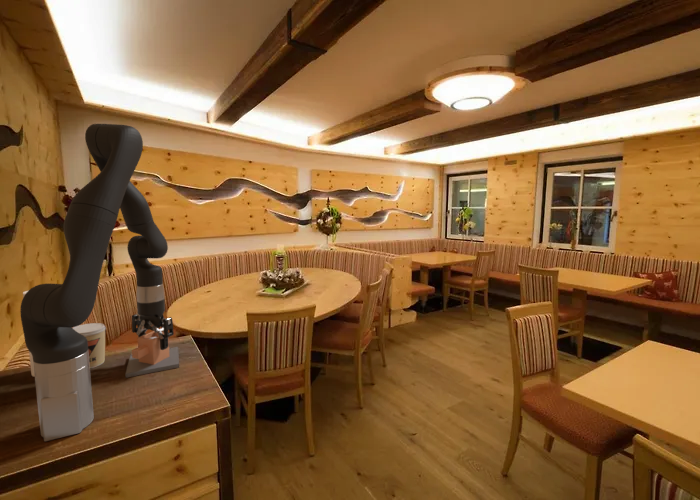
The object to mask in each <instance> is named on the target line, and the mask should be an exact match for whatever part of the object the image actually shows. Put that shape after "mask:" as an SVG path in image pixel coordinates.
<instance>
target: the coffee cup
mask: <svg viewBox="0 0 700 500" xmlns="http://www.w3.org/2000/svg"><path fill="white" fill-rule="evenodd" d="M72 328H73V329H74V330H75V331H76V332H78V333H80V334H81V335H83V336H85V337H86V338H87V341H88V351H89V364H90V369H94V368H96V367H99V366H101V365H102V364H104V362H105V361H106V360H105V358H106V326H105V324H104V323H99V322H94V323H93V322H92V323H91V322H90V323H83V324H80V325H79V326H76V327H72Z"/></svg>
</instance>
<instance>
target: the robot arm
mask: <svg viewBox="0 0 700 500" xmlns="http://www.w3.org/2000/svg"><path fill="white" fill-rule="evenodd" d="M84 139H85V144H86V148H87V149H88V151H89V153H90V155H91V157H92V159H93V161H94V163H95V165H96V167H97V168H98V169H99V171H100V172H99V173H98V174H97V175H96V176H95V177H94V178H93V179H92V180H90V181H89V182H88V183H87V184H85V185H84V186H83V187H82V188H81V189H80V190H79V191H78V192H77V193H76V194H75V195H74V197H73V198H72V200H71V202H70V204H69V206H68V210H67V213H66V215H65V218H64V221H63V224H62V225H63V234H64V238H65V242H66V245H67V248H68V251H69V252H68V253H69V264H68V268H67V271H66V274H65V277H64V279H63V282H62V283H41V284H37V285H34V286H33V287H31V288H30V289H29V291H28V290H27V291H28V292H27V293H26V294H25V296H24V297H23V296H22V300H21V304H20V311H19V313H20V320H21V326H22V327H21V328H22V331H23V336H24V337H23V339H24V342H25V346H26V349H27V351H28V352H29V351H30V352H31V354H32V356H33V364H34V374H35V377H34V384H35V392H36V401H37V411H38V419H39V420H38V421H39V428H40V429H39V430H40V435H41V437H42V438H43V442H49V441H53V440H56V439H60V438H64V437H69V436H73V435H77V434H80V433H81V432H82V431H83V430H84V429H85V428H86V427H88V426H89V425H90V424H91V423H92V422H93V420H94V417H95V415H94V404H93V402H94V401H93V390H92V378H91V368H90V364H89V351H88V341H87V338H86V337H85V336H83V335H81V334H80V333H78V332H76V331H75V330H74V329H73V327H76V326H79V325H83V324H84V323H85V322H86V320H88V318H89V317H90V316H91V314H92V312H93V309H94V306H95V303H96V299H97V296H98V295H97V294H98V289H99V285H100V279H101V274H102V273H101V272H102V268H103V264H104V261H105V257H106V254H107V249H108V247H109V243H110V239H111V237H112V236H113V232H114V229H115V226H116V223H117V220H118V217H119V212H121V215H122V217H123V220H124V223H125V226H126V228H127V230H128V231H129V232H131V233H134V234H138V235H134V236H132V237H131V238H130V239H129V240H128V243H127V253H128V256H129V259H130V260H131V263H132V266H133V269H134V271H135V277H136V278H135V279H136V293H135V296H136V309H137V310H136V312H137V313H135V314H133V315H131V332H132V333H136V335H137V338H138V337H141V336H143V335H145V334H147V331H151V332H153V331H154V332H155V333H156V334H158V335H159V337H160V349H161V350H164V349H166V348H167V347H168V337H169V338H170V337H172V336H174V334H175V333H174V323H173V318H172V317H171V316H170V317H164V313H165V312H166V304H165V300H166V299H165V288H164V284H163V283H164V282H163V281H164V280H163V279H164V278H163V269H162V267H161V266H160V265H157V264H153V263H151V262H150V261H149V259H162V258H164V257H165V256H166V254H167V253H168V250H169V247H168V246H169V245H168V242H167V239H166V237H165V236H164V235H163V233H162V232H161V230H160V228H159V227H158V226H157V224H156V223H155V221H154V218H153V215H152V211H151V208H150V206H149V203H148V200H147V199H146V198H145V196H144V195H143V193H142V192H141V191H140V190H139V189H138V188H137V187H136V186H135V185H134V183H132V181H131V179H132V176H133V174H134V173H135V170H136V168H137V167H138V164H139V161H140V159H141V157H142V153H143V148H144V142H143V138H142V134H141V132H140V131H139V130H138V129H137V128H136V127H134V126H131V125H127V124H112V123H92V124H90V125H89V126H88V127H87V129H86V130H85V133H84ZM162 332H163V333H164V334H162Z"/></svg>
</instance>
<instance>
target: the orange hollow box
mask: <svg viewBox="0 0 700 500" xmlns="http://www.w3.org/2000/svg"><path fill="white" fill-rule="evenodd" d="M162 334H164V333H163V332H162ZM151 337H156V338H154V339H150V338H151ZM169 338H170V337H168V347H167V348H166V349H164V350H161V349H160V337H159V335H158V334H156V333H155V332H154V331H151V332H148V333H146V334H145V335H143V336H141V337H138V336H137V347H136V348H133V349H132V350H131V355H132V358H136V359H139V362H143V363H148V364H153V365H154V364H156V363H158V362H160V361H162V360H164V359H166V358H167V357H169V348H170V341H169V340H170V339H169Z"/></svg>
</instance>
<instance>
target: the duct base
mask: <svg viewBox="0 0 700 500" xmlns="http://www.w3.org/2000/svg"><path fill="white" fill-rule="evenodd" d="M154 338H156V337H151V338H150V339H154ZM179 357H180V356H179V346H175V347H169V357H167V358H166V359H164V360H162V361H160V362H158V363H156V364H154V365H153V364H148V363H143V362H139V359H136V358H132V354H130V355H129V359H128V363H127V366H126V371H125V373H124V374H125V378H130V377H136V376H141V375H147V374H152V373H158V372H162V371H168V370H173V369H177V368H180V359H179Z"/></svg>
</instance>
